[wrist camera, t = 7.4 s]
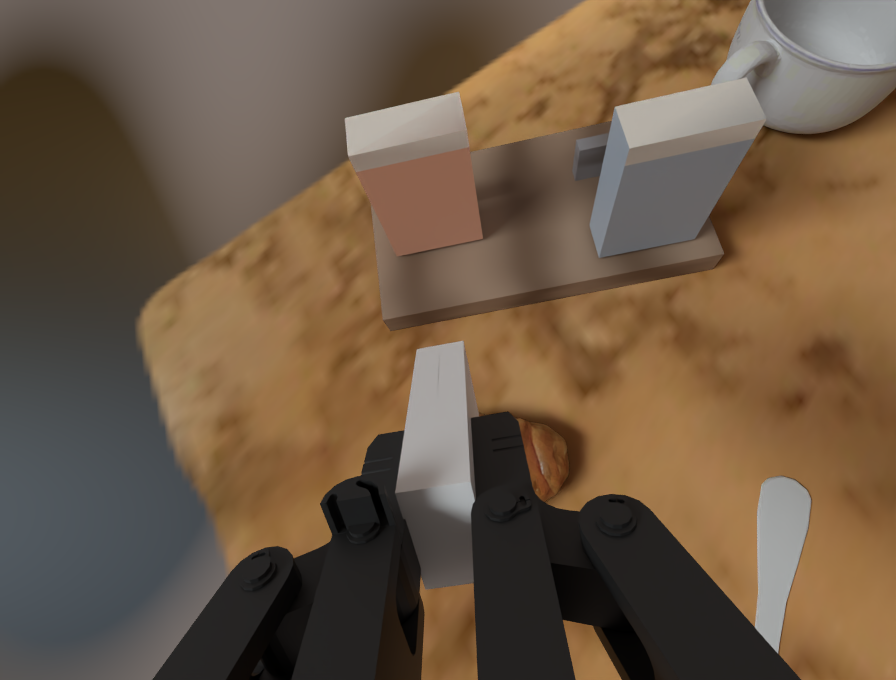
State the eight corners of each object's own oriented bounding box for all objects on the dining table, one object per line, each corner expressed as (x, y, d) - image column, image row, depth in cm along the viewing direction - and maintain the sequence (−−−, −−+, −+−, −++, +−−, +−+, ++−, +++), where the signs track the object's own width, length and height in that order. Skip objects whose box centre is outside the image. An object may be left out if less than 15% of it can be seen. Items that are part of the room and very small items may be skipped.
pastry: (554, 404, 31) (557, 389, 28) (580, 515, 29) (587, 515, 25) (410, 430, 32) (396, 419, 29) (424, 540, 30) (411, 543, 26)
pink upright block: (476, 208, 34) (459, 91, 25) (483, 238, 33) (466, 129, 24) (393, 225, 35) (344, 118, 25) (396, 256, 34) (348, 156, 25)
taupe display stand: (659, 129, 37) (678, 73, 32) (712, 269, 33) (744, 227, 28) (375, 191, 39) (355, 146, 34) (390, 330, 35) (369, 301, 30)
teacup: (819, 26, 38) (891, -94, 31) (908, 128, 34) (1014, 18, 27) (646, 86, 39) (675, -17, 31) (713, 194, 35) (765, 104, 27)
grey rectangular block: (682, 206, 32) (746, 77, 23) (694, 239, 31) (767, 118, 22) (589, 225, 32) (614, 106, 23) (599, 258, 32) (629, 148, 22)
